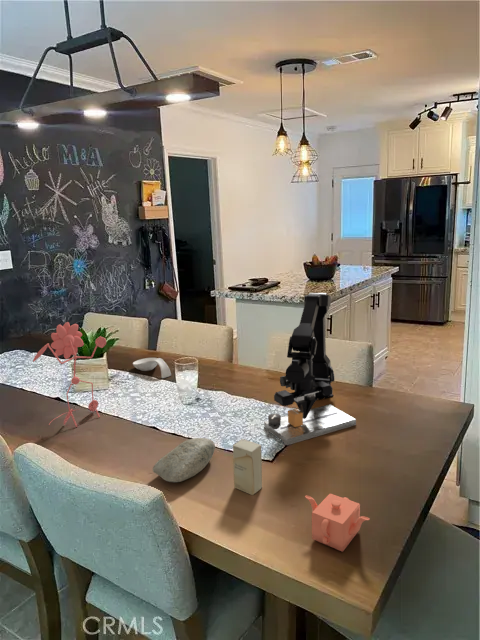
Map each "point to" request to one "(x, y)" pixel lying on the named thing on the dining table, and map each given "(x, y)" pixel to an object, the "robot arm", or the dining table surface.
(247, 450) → the skincare box
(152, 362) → the spoon rest
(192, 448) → the rock
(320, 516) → the teapot
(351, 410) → the dining table surface
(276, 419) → the dial
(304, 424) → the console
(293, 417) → the fader
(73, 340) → the figurine
